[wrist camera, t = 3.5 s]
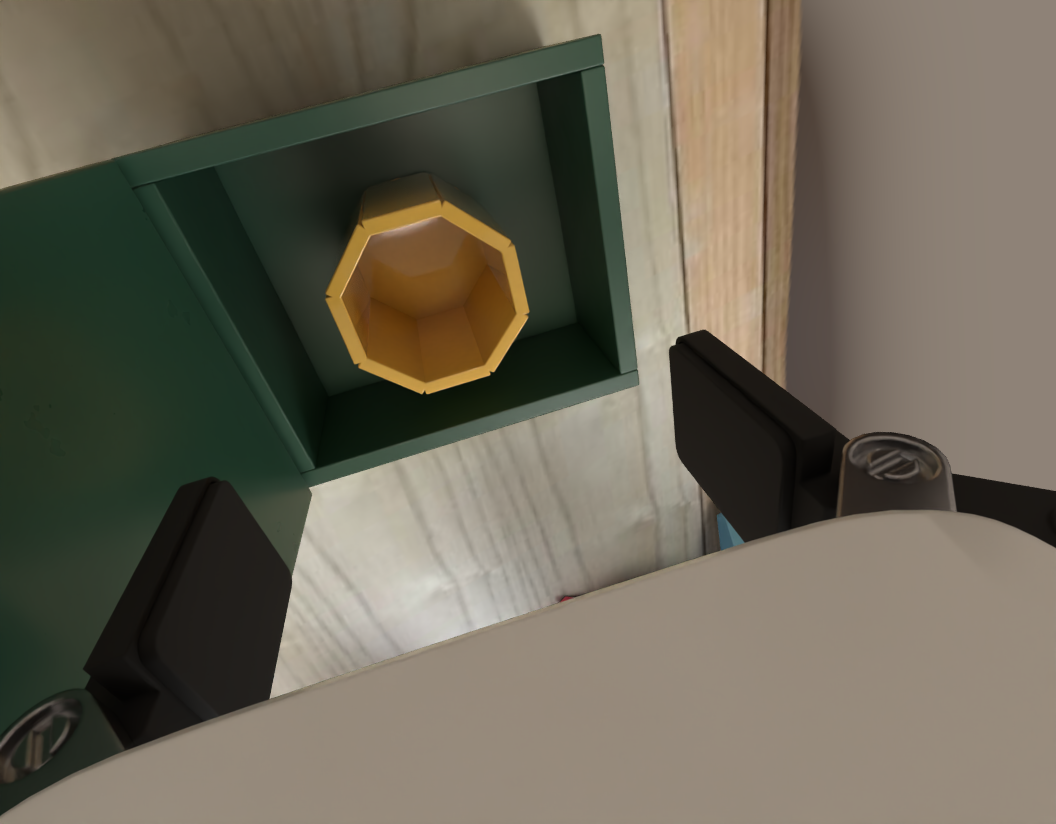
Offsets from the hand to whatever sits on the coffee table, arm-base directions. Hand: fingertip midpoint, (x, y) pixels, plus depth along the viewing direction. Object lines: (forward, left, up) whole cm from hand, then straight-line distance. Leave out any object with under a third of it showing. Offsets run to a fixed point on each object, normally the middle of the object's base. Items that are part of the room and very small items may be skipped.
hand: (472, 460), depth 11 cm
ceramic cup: (0, 0, -16) cm, 16 cm away
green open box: (0, 0, -16) cm, 16 cm away
